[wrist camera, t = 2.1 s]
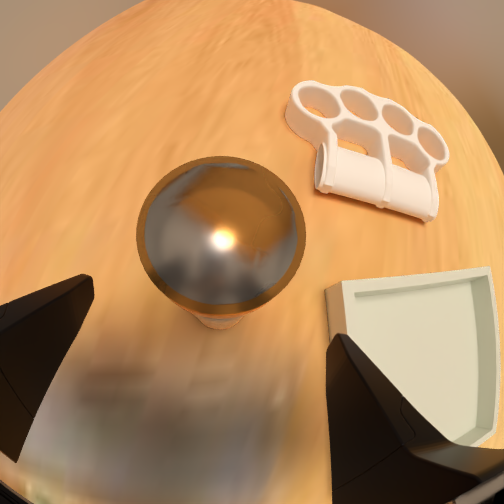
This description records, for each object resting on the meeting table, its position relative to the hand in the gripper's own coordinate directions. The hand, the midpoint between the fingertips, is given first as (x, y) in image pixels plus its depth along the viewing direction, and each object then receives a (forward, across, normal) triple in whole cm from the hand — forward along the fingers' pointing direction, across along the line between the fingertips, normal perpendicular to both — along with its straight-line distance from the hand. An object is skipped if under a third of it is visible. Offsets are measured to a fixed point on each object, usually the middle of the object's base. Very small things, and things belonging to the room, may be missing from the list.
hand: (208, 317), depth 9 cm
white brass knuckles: (+21, -11, -6) cm, 24 cm away
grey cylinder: (+8, 0, +5) cm, 10 cm away
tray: (+5, -18, +8) cm, 20 cm away
